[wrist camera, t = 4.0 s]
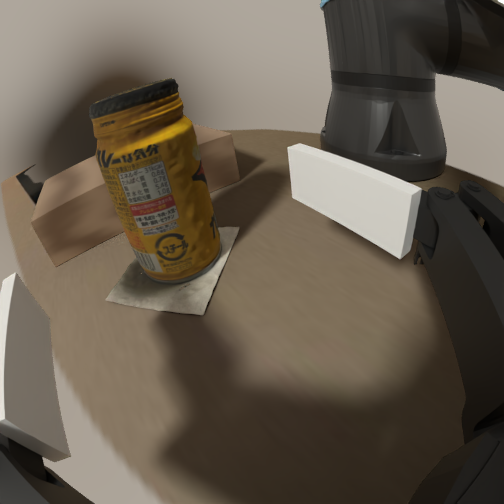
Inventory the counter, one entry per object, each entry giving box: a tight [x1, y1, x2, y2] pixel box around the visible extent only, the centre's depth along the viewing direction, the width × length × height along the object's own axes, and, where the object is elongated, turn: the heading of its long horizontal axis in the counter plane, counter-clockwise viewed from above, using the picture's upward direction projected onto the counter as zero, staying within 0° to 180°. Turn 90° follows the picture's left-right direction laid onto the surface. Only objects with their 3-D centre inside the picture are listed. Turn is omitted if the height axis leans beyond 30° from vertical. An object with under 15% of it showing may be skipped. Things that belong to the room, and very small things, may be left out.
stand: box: [31, 124, 240, 267], centre depth 29 cm, size 20×14×5 cm
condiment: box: [89, 78, 239, 315], centre depth 16 cm, size 7×8×12 cm
